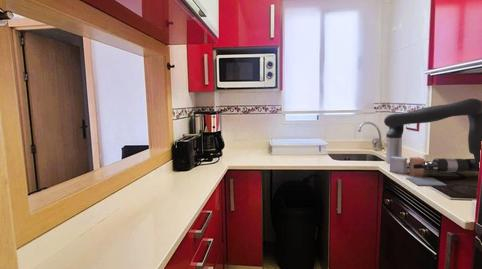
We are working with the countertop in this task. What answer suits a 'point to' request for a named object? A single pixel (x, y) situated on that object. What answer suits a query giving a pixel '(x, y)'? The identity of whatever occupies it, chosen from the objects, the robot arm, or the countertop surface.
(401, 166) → the medicine box
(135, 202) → the countertop surface
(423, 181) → the slate mat
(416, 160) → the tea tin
